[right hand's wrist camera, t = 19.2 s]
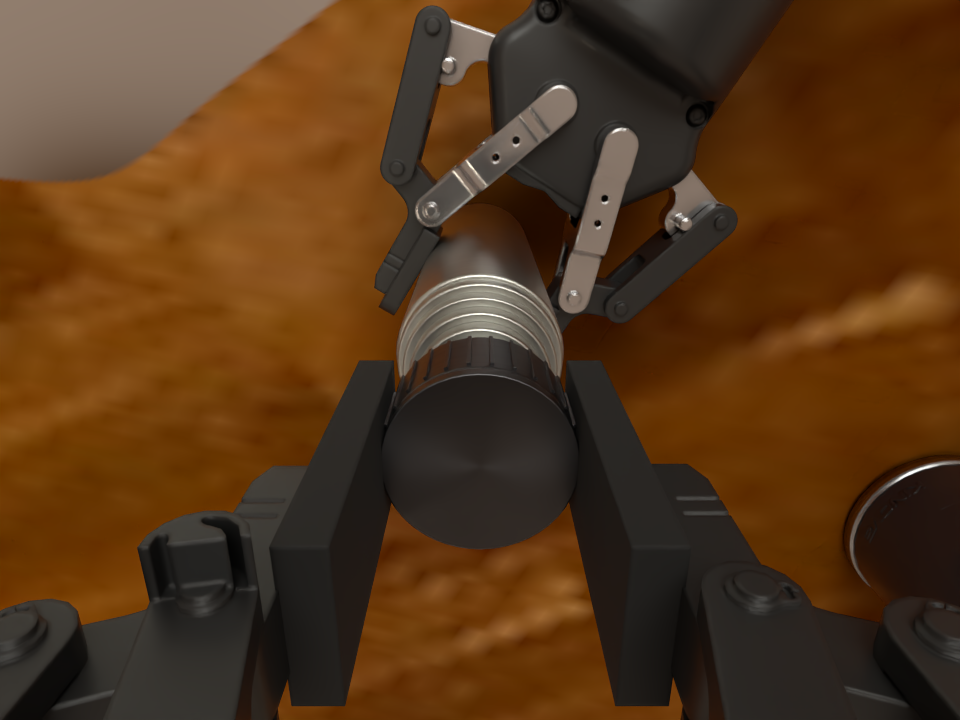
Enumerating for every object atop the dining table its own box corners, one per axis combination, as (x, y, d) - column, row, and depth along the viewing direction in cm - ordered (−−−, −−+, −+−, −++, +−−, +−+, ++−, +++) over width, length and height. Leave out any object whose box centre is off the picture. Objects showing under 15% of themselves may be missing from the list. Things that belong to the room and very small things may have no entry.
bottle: (461, 314, 33) (437, 579, 14) (414, 232, 31) (317, 408, 13) (544, 271, 32) (634, 491, 13) (500, 184, 31) (531, 298, 12)
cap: (495, 296, 13) (498, 328, 11) (603, 430, 15) (623, 481, 13) (354, 404, 14) (333, 452, 12) (466, 522, 16) (464, 584, 14)
